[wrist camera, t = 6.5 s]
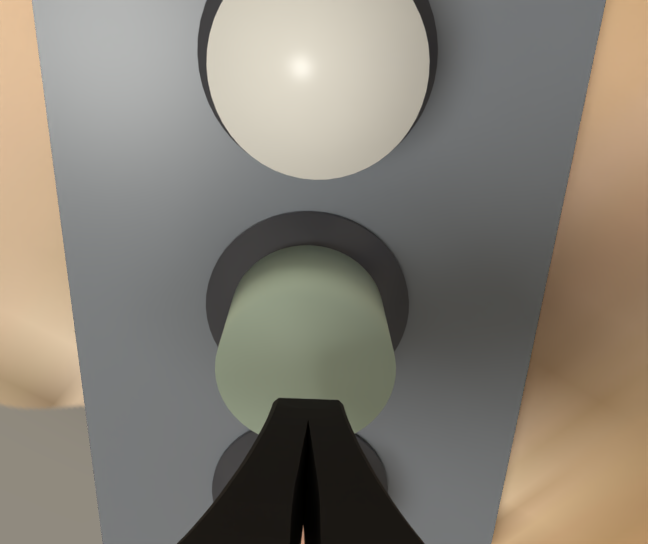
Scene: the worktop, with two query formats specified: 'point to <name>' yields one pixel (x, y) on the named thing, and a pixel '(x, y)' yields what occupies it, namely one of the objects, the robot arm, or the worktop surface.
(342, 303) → the button sage
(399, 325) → the panel
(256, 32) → the button cream
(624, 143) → the worktop surface
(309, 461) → the robot arm
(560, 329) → the worktop surface
